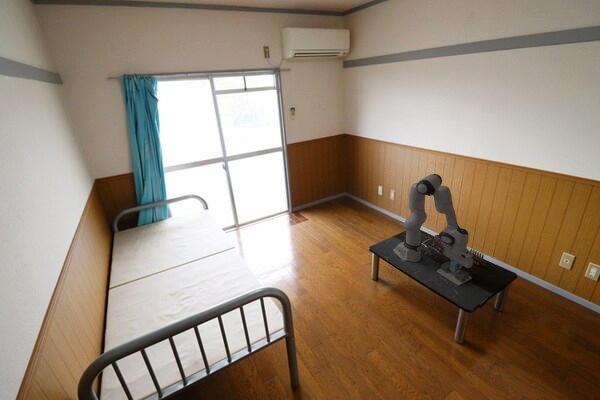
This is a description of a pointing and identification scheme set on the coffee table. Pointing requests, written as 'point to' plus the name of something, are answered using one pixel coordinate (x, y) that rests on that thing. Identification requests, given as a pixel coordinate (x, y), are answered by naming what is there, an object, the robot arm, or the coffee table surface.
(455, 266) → the block
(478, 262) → the ammunition clip
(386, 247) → the coffee table surface
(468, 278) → the board
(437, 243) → the medicine box
